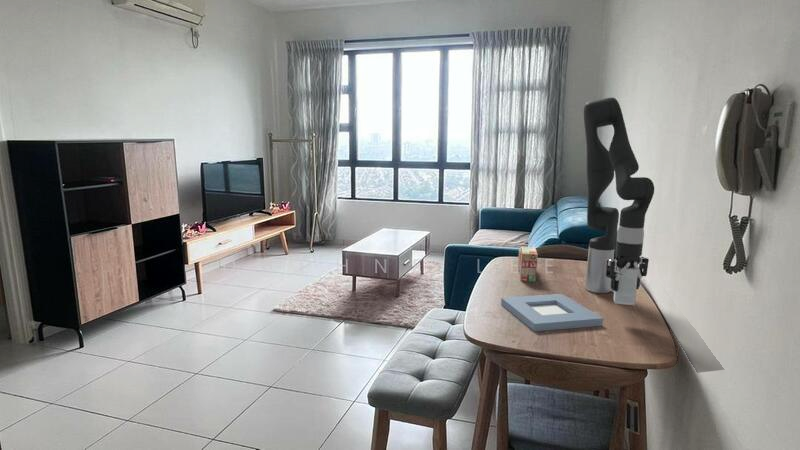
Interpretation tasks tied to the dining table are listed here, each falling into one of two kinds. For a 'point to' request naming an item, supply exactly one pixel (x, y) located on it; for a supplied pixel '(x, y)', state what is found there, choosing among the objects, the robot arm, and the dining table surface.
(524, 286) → the dining table surface
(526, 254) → the stack of blocks
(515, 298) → the base board
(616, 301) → the skincare box
